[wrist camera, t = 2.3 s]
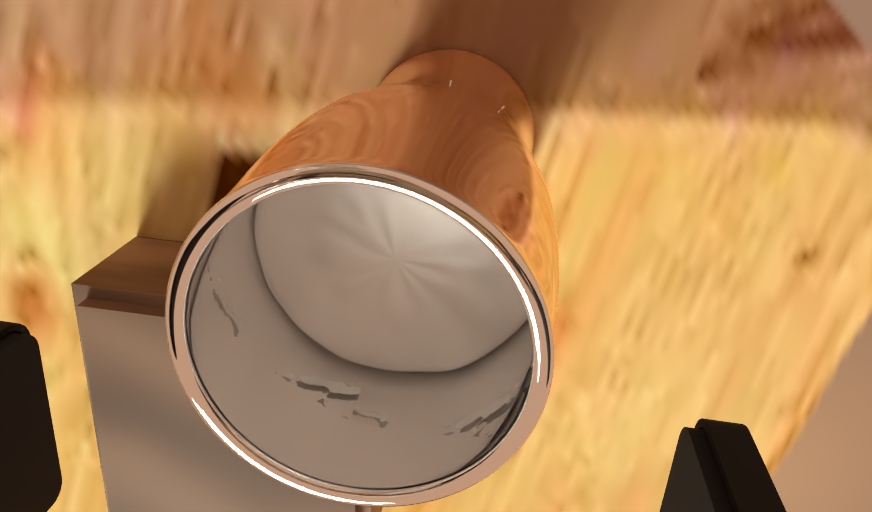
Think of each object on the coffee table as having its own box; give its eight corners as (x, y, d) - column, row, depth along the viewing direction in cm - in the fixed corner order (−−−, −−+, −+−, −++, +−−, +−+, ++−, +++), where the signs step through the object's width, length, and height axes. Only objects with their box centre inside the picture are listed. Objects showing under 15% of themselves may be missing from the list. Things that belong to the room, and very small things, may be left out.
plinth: (136, 236, 28) (60, 291, 24) (400, 268, 27) (375, 331, 23) (160, 449, 33) (101, 530, 28) (388, 483, 32) (365, 571, 27)
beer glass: (535, 233, 26) (541, 542, 12) (354, 216, 27) (172, 491, 13) (558, 42, 23) (599, 172, 10) (355, 28, 24) (125, 130, 10)
